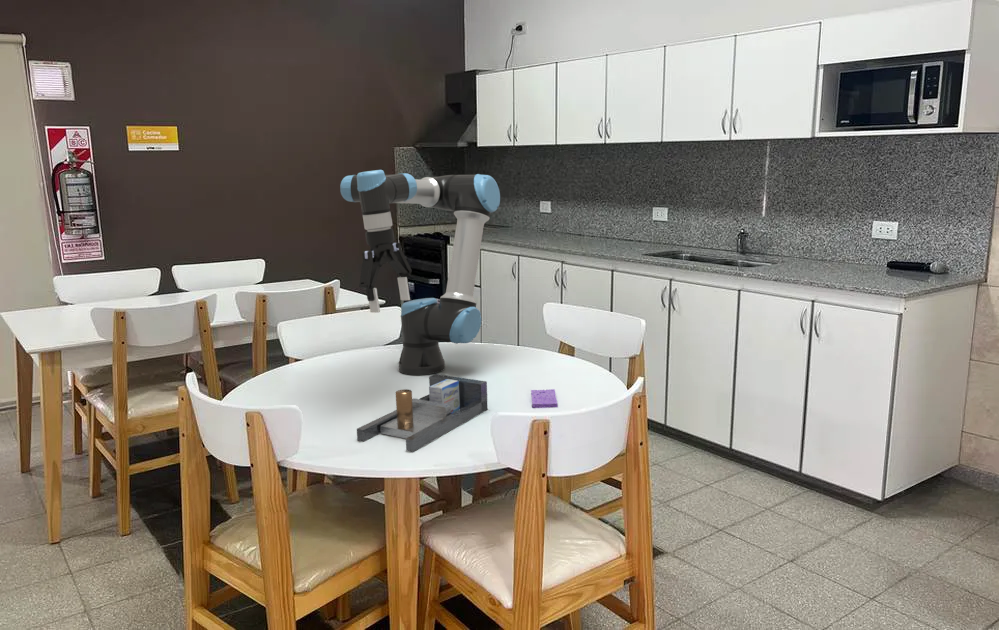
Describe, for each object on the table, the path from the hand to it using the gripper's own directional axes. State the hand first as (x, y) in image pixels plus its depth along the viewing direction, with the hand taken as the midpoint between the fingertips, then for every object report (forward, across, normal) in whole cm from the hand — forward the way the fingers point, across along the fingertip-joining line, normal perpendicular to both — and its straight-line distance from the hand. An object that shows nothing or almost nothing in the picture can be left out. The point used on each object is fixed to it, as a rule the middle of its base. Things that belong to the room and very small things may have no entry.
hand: (390, 306), depth 207 cm
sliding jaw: (+28, +16, +15) cm, 36 cm away
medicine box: (+29, +3, +15) cm, 33 cm away
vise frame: (+29, +12, +15) cm, 34 cm away
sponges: (+33, -18, +34) cm, 51 cm away
